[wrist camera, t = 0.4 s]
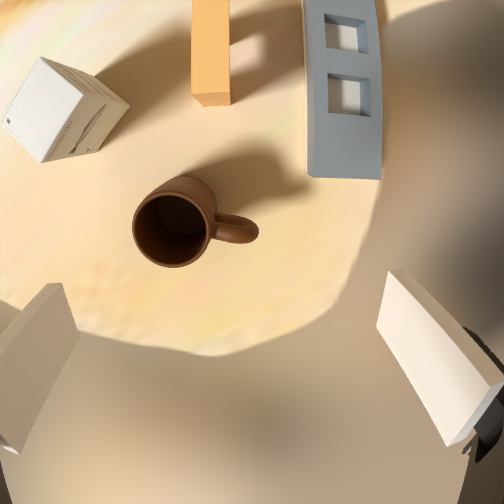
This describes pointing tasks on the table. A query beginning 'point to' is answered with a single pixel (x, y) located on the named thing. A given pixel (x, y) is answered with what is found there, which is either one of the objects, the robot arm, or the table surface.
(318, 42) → the rail
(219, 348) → the table surface
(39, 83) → the supplement box
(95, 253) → the table surface
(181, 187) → the mug
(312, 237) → the table surface
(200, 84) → the tall wooden block
